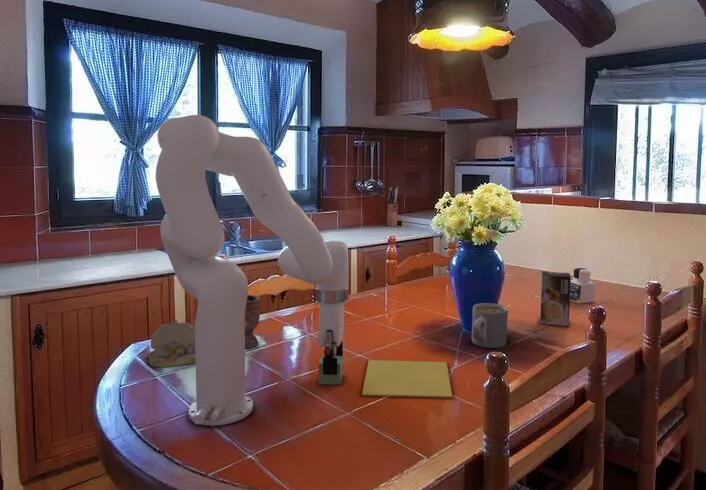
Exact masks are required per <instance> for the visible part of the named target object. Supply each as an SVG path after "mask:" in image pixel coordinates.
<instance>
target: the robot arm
mask: <svg viewBox="0 0 706 490" xmlns="http://www.w3.org/2000/svg"><path fill="white" fill-rule="evenodd" d="M156 133H157V134H156V140H157V145H158V146H159V148H160V150H161V151H160V153H159V156H158V157H157V163H156V166H155V182H156V183H155V185H156V187H157V192H158V195H159V198H160V200H161V203H162V207H163V209H164V212H165V215H164V216H163V218H162V219H161V222H160V229H159V233H160V238H161V242H162V245H163V248H164V250H165V252H166V255H167V257H168V260H169V262H170V264H171V267H172V269H173V270H174V274H175V275H176V278H177V280H178V282H179V284H180V286H181V287H182V289H183V290H184V291H185V292H186V293H187V294H189V295H190V296H191V297H193V298H194V299H196V300H197V308H196V312H195V313H196V314H195V321H194V327H195V358H196V362H195V394H196V395H195V396H196V398H195V399H196V401H194V402H192V404H191V405H190V406H189V408H188V409H187V412H188V413H187V414H188V415H187V416H188V418H189V420H190V421H192V422H193V423H194V424H195V425H202V426H209V427H210V426H211V427H213V426H224V425H229V424H234V423H236V422H240V421H241V420H243V419H245V418H246V417H248V416H249V415H250V414H251V413H252V412H253V410H254V401H253V399H252V398H251V397H250V396H248V395H246V349H245V308H246V302H247V295H249V281H248V278H247V275H246V273H245V274H244V272H245V271H244V272H243V271H242V269H243V268H241V267H240V266H239V265H238V264H236V263H235V262H232V261H231V260H228V259H226V258H223V257H221V256H220V255H219V252H220V251H221V250H222V248H223V246H224V243H225V230H224V228H223V227H224V226H223V225H222V222H221V220H220V217H219V215H218V211H217V210H216V207H215V204H214V202H213V200H212V197H211V193H210V191H209V188H208V187H209V186H208V184H207V179H206V171H210V172H213V173H215V174H220V175H223V176H227V177H232V178H233V179H234V180H235V182H236V184H237V186H238V187H239V189H240V191H241V192H242V194H243V197H244V198H245V200H246V202H247V204H248V206H249V208H250V209H251V211H252V213H253V215H254V217H255V218H256V219H257V220H258V221H259V222H260V223H261V224H262V225H263V226H264V227H266V228H267V229H268V230H269V231H271V232H273V234H275V235H276V236H277V237H278V238H279V239H280V240H281V241H282V242H283V243H284V244H285V245H286V246H285V247H284V248H283V249H282V250H280V253H279V254H278V258H277V261H278V262H277V263H278V267H279V269H280V271H282V272H283V273H284V274H286V275H287V276H289V277H291V278H294V279H296V280H300V281H302V282H305V283H307V284H311V285H315V303H316V304H317V305H319V310H318V333H317V334H318V335H317V338H318V339H317V342H318V343H317V345H318V347H319V348H322V347H323V353H322V355H323V374H324V375H337V373H338V368H337V357H336V356H343V357H344V343H343V337H344V332H345V304H347V303H348V302H349V301H350V299H349V298H350V297H349V295H350V294H349V293H350V292H349V290H350V289H349V248H348V245H347V244H346V243H345V242H343V241H340V240H339V241H338V240H332V241H331V240H327V241H325V239H324V237H323V235H322V234H321V233H320V231H319V229H318V227H317V226H316V225H315V223H313V221H312V219H310V217H309V216H308V215H307V214H306V213H305V212H304V210H303V209H302V208H301V206H300V205H299V204H298V203H297V202H296V201H295V199H294V198H293V196H292V195H291V192H290V191H289V189H288V187H287V184H286V183H285V181H284V179H283V177H282V175H281V173H280V171H279V168H278V167H277V165H276V163H275V161H274V159H273V157H272V155H271V153H270V150H269V149H268V147H267V146H266V145H265V143H264V142H263V141H262V140H260V139H258V138H256V137H253V136H234V135H231V134H227V133H223V132H221V131H219V128H218V126H217V125H216V123H215V122H214V121H213V120H212V119H211V118H209V117H207V116H204V115H201V114H186V115H185V114H184V115H177V116H176V115H175V116H172V117H170V118H167V119H165V120H164V121H163V122H161V124H160V126H159V128H158V130H157V132H156Z"/></svg>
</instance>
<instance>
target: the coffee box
mask: <svg viewBox="0 0 706 490" xmlns="http://www.w3.org/2000/svg"><path fill="white" fill-rule="evenodd" d="M571 280H572V276H571V273H570V272H558V271H544V270H541V280H540V281H541V284H540V307H539V308H540V309H539V324H540V325H551V326H563V327H569V326H570V309H571V300H570V285H571Z"/></svg>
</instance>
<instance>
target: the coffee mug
mask: <svg viewBox="0 0 706 490" xmlns="http://www.w3.org/2000/svg"><path fill="white" fill-rule="evenodd" d="M471 317H472V319H471V320H472V322H471V343H472V344H473V345H475V346H478V347H482V348H486V349H487V348H489V349H494V348H502V347H505V346H506V345H507V339H508V338H507V337H508V317H509V308H508V307H507V306H504V305H502V304H498V303H491V302H490V303H489V302H482V303H476V304H473V306H472V316H471Z"/></svg>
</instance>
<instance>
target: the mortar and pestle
mask: <svg viewBox="0 0 706 490" xmlns="http://www.w3.org/2000/svg"><path fill="white" fill-rule="evenodd" d="M241 269H242V271H243V272H244V274H245V275H246V272H245V269H243V268H241ZM260 317H261V297H260V296H258V295H252V294H248V295H247V302H246V308H245V350H247V349H251V348H254V347H257V346H258V345H259V341H258V338H257V337H256V335H255V334H254V330H255V329H256V328H257V327H258V325H259V323H260Z"/></svg>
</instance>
